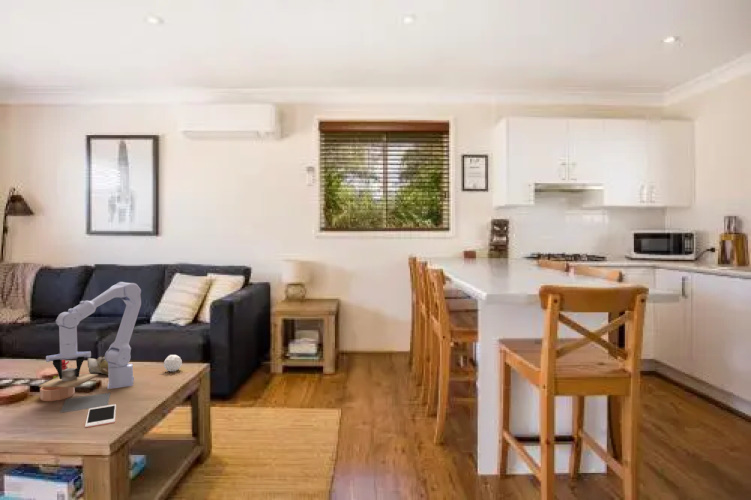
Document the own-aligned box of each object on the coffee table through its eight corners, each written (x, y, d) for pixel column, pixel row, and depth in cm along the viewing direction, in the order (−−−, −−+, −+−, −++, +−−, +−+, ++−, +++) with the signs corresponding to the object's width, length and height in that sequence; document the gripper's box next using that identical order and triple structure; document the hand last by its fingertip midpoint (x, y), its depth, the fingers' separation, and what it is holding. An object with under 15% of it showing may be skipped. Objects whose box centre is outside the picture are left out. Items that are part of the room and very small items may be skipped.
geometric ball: (169, 377, 217) (157, 366, 214) (175, 367, 225) (164, 355, 222) (181, 371, 216) (170, 358, 213) (187, 360, 223) (176, 348, 220)
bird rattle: (55, 387, 203) (47, 385, 194) (58, 361, 206) (51, 358, 198) (71, 386, 204) (65, 384, 196) (74, 360, 208) (68, 357, 200)
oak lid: (98, 375, 189) (98, 364, 189) (75, 387, 175) (74, 375, 175) (64, 375, 189) (64, 364, 189) (38, 386, 175) (38, 375, 175)
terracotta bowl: (75, 390, 193) (75, 379, 193) (72, 399, 183) (72, 388, 183) (43, 394, 188) (43, 383, 188) (38, 403, 178) (37, 392, 178)
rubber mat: (110, 393, 189) (110, 392, 189) (107, 406, 175) (107, 405, 175) (66, 400, 182) (66, 398, 182) (60, 413, 169) (60, 412, 169)
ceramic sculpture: (94, 351, 220) (126, 353, 220) (94, 369, 221) (126, 371, 221) (80, 358, 210) (114, 360, 210) (80, 376, 210) (113, 378, 210)
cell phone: (84, 429, 157) (84, 426, 157) (89, 410, 173) (88, 408, 173) (114, 423, 161) (114, 421, 161) (116, 406, 177) (116, 403, 177)
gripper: (91, 338, 188) (92, 371, 189) (47, 342, 182) (48, 377, 182) (89, 342, 182) (90, 376, 183) (44, 347, 175) (45, 382, 176)
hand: (69, 377), depth 182 cm, fingers closed on oak lid, 5 cm apart
